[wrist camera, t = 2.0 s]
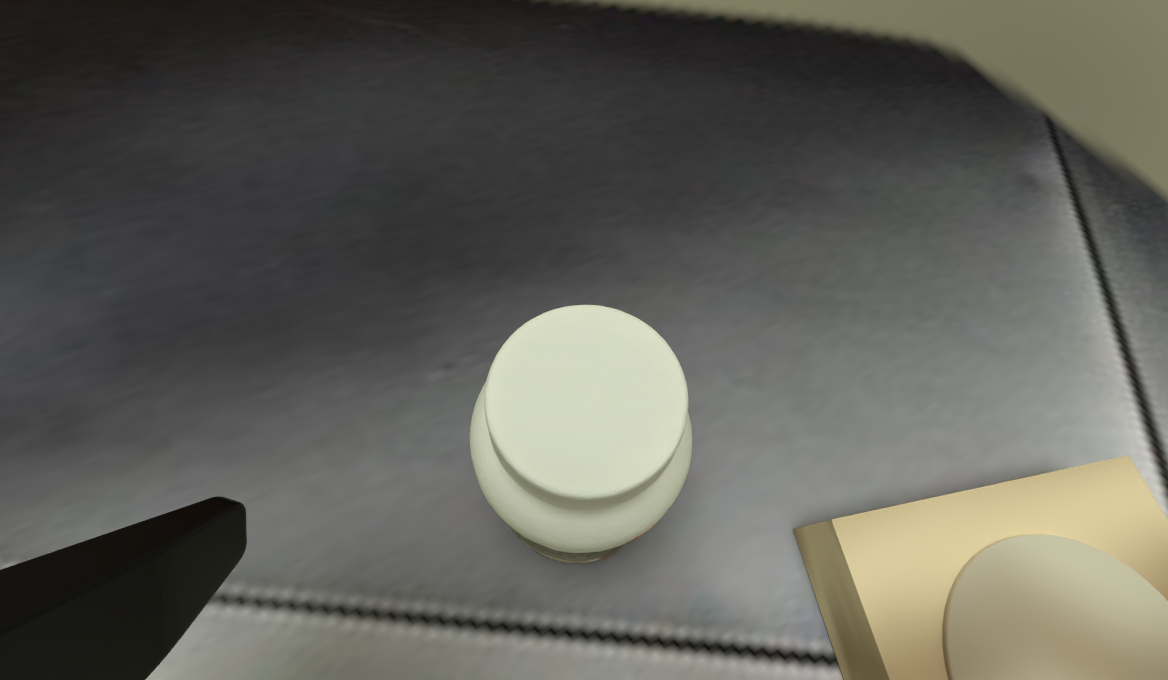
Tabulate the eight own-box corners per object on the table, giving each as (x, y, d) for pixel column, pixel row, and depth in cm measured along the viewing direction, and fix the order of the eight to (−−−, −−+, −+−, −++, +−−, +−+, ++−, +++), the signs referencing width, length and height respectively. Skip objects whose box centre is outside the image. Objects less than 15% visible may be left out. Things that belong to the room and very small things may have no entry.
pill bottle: (649, 572, 18) (726, 559, 9) (488, 555, 18) (413, 526, 9) (656, 416, 20) (724, 284, 12) (513, 401, 21) (470, 259, 12)
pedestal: (1235, 814, 16) (1391, 868, 13) (920, 909, 15) (1010, 990, 12) (1052, 473, 20) (1137, 453, 17) (793, 529, 19) (835, 518, 16)
